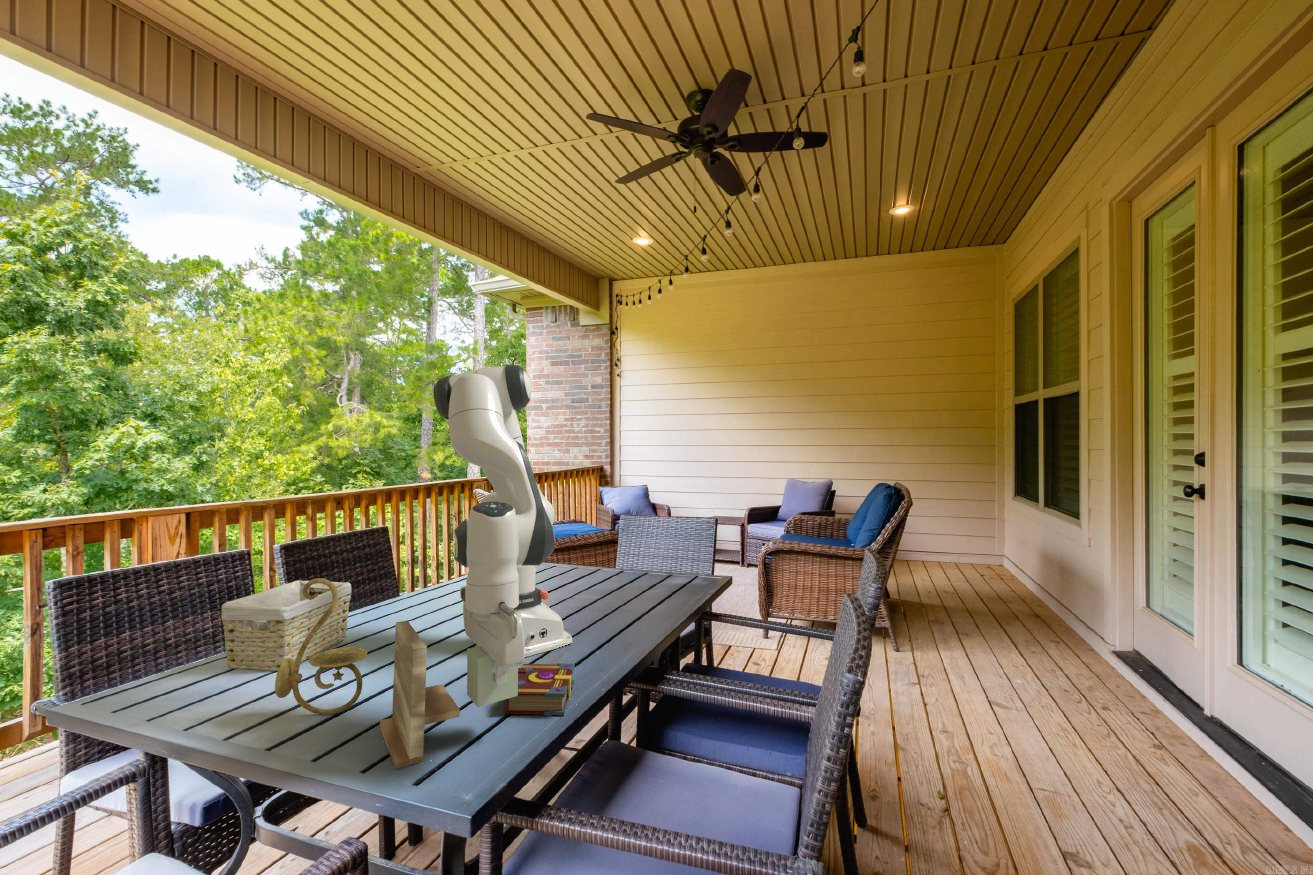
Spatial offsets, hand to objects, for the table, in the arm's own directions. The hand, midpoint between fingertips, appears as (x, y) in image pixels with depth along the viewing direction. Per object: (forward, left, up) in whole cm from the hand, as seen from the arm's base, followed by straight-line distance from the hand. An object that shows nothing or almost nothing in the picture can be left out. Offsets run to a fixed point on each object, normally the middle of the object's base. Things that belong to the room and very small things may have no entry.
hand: (492, 675), depth 97 cm
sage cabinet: (0, 0, -3) cm, 3 cm away
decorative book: (-13, -10, -11) cm, 20 cm away
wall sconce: (+24, -23, -10) cm, 35 cm away
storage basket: (+28, -63, -11) cm, 70 cm away
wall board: (+11, -5, -10) cm, 16 cm away
